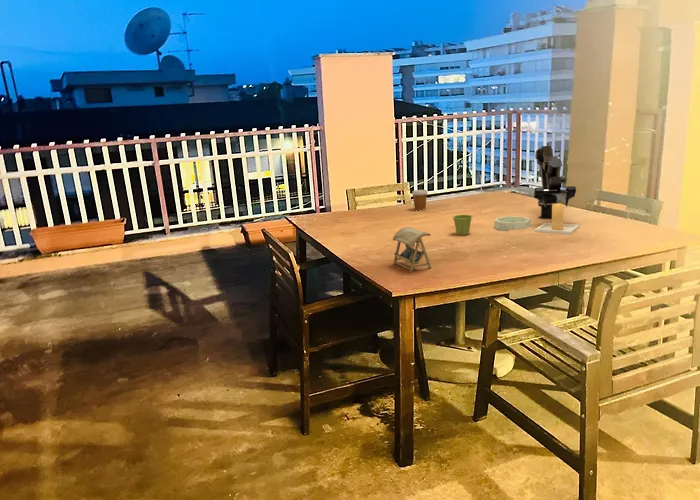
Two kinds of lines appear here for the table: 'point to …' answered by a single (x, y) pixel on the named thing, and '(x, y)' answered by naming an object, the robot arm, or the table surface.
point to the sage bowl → (511, 223)
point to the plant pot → (462, 224)
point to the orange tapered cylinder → (557, 216)
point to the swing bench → (411, 247)
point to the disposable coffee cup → (419, 199)
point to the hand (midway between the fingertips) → (556, 206)
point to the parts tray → (566, 230)
